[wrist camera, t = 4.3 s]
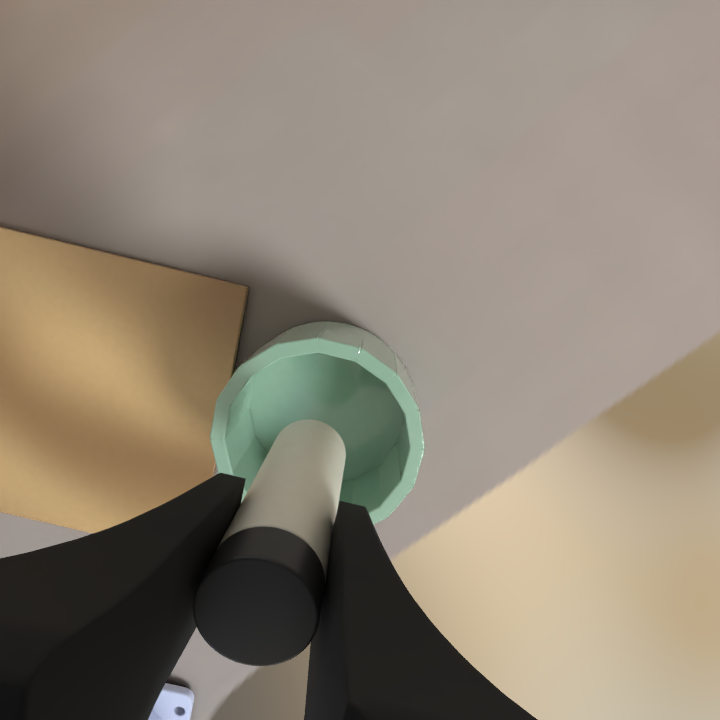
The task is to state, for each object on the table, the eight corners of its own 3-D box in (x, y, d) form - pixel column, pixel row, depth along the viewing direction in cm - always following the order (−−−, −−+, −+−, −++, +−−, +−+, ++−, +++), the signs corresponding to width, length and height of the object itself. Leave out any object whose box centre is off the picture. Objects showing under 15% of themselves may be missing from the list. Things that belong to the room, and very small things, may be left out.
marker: (336, 493, 16) (304, 679, 9) (267, 477, 16) (182, 651, 9) (353, 428, 15) (332, 573, 9) (281, 411, 15) (201, 543, 9)
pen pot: (391, 503, 21) (393, 558, 17) (228, 464, 21) (196, 512, 17) (435, 344, 19) (448, 368, 16) (259, 302, 19) (230, 316, 15)
